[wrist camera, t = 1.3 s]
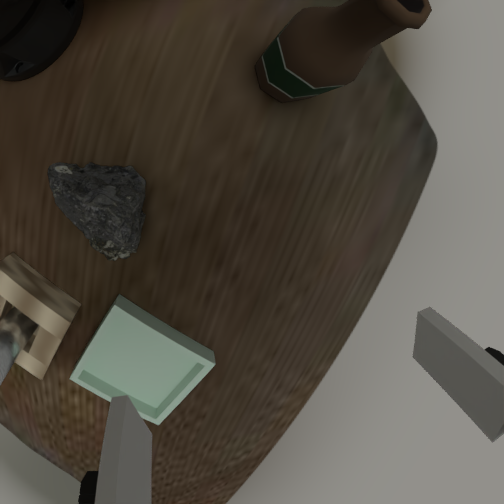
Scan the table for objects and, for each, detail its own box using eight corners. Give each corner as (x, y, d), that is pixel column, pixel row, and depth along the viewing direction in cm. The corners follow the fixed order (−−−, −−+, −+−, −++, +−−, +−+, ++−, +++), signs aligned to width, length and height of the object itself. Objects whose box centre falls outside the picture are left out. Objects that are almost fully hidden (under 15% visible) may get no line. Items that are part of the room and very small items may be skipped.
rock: (183, 182, 33) (127, 214, 24) (164, 255, 38) (117, 300, 29) (97, 147, 34) (35, 168, 25) (88, 216, 38) (35, 248, 30)
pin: (12, 315, 35) (-44, 386, 19) (21, 292, 34) (-41, 362, 19) (36, 332, 36) (-12, 411, 21) (46, 311, 36) (-7, 389, 20)
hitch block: (-10, 314, 35) (-25, 330, 30) (12, 252, 33) (-6, 265, 29) (52, 359, 39) (41, 380, 34) (81, 304, 37) (70, 322, 33)
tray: (74, 366, 40) (69, 378, 37) (119, 293, 38) (114, 304, 35) (159, 411, 45) (158, 425, 42) (213, 351, 43) (215, 364, 40)
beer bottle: (311, 111, 35) (460, 81, 13) (247, 97, 34) (339, 23, 11) (320, 54, 33) (457, -18, 11) (258, 38, 31) (349, -78, 9)
